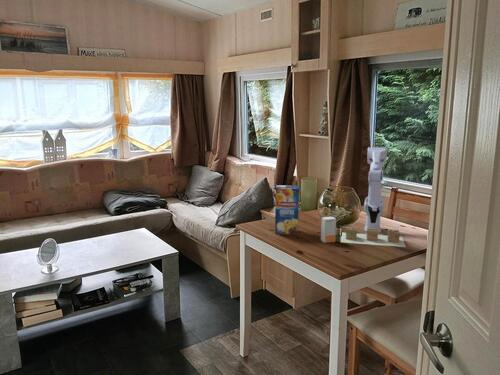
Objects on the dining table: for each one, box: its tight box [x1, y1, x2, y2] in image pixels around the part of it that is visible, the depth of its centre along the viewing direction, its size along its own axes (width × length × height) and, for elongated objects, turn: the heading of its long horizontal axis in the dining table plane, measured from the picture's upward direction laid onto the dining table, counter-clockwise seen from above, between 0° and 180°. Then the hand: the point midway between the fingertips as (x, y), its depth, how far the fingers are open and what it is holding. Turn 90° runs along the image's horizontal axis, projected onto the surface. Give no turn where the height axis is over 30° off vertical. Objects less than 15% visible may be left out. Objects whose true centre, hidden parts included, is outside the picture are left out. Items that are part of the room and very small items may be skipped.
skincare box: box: [320, 216, 337, 244], centre depth 211 cm, size 6×4×12 cm
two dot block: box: [345, 226, 358, 240], centre depth 216 cm, size 5×5×5 cm
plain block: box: [366, 228, 379, 241], centre depth 214 cm, size 5×5×5 cm
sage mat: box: [340, 232, 406, 248], centre depth 214 cm, size 16×30×1 cm, turn 77°
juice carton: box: [274, 184, 300, 235], centre depth 225 cm, size 12×8×24 cm, turn 84°
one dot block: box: [387, 228, 401, 243], centre depth 212 cm, size 5×5×5 cm
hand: (372, 221), depth 213 cm, fingers open, 3 cm apart
